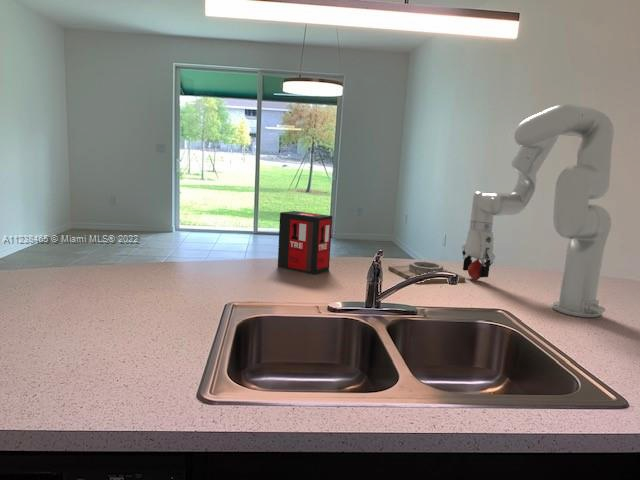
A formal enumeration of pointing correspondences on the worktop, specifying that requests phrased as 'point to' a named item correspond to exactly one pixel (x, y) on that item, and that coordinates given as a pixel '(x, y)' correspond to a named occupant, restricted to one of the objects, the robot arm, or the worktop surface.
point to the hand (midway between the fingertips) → (475, 273)
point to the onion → (475, 270)
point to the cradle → (420, 271)
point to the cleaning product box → (304, 242)
